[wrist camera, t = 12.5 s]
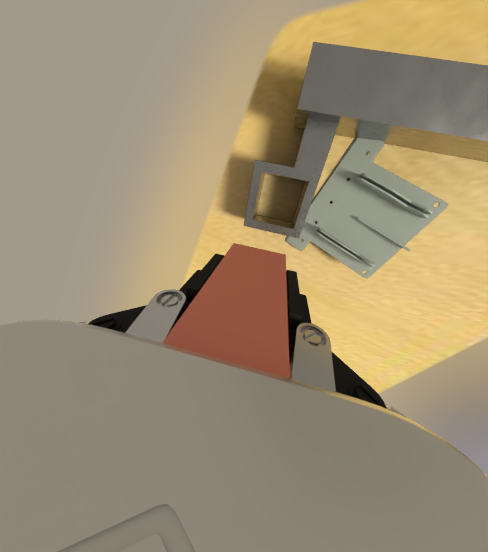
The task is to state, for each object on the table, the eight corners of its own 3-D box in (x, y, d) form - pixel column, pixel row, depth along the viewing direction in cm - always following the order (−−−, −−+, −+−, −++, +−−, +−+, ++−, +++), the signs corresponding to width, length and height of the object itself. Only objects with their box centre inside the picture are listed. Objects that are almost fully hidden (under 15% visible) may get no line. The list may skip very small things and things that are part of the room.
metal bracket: (492, 188, 16) (362, 298, 24) (454, 194, 21) (357, 283, 29) (354, 118, 19) (276, 237, 26) (349, 138, 24) (285, 233, 31)
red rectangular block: (272, 296, 13) (255, 511, 5) (228, 285, 14) (136, 470, 5) (285, 254, 12) (293, 479, 3) (233, 243, 12) (107, 419, 3)
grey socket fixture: (420, 259, 25) (456, 279, 20) (248, 220, 27) (240, 229, 22) (528, 115, 17) (634, 85, 12) (275, 75, 19) (273, 36, 14)
